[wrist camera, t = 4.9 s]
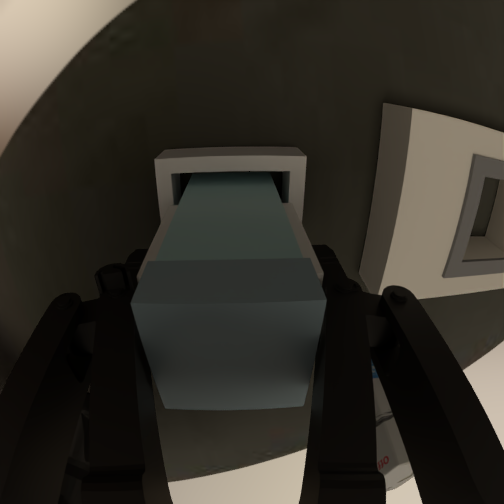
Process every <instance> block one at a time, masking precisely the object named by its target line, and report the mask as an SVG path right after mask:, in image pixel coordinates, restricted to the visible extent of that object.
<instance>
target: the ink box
mask: <svg viewBox="0 0 504 504" xmlns="http://www.w3.org/2000/svg"><path fill="white" fill-rule="evenodd" d="M371 364H372V375H373V387H374V400H375V416H376V440H377V468H378V471H379V472H381V473H382V474H383V475H384V478H385V482H386V491H389V490H393V489H395V488H397V487H399V486H401V485H402V484H404V483H405V482H406V481H408V480H409V479H411V478H412V477H414V474H413V471H412V468H411V465H410V462H409V459H408V456H407V453H406V450H405V447H404V444H403V441H402V438H401V436H400V433H399V430H398V427H397V424H396V422H395V419H394V416H393V414H392V411H391V408H390V405H389V403H388V400H387V398H386V395H385V392H384V390H383V387H382V385H381V382H380V380H379V377H378V375H377V372H376V370H375V367H374V365H373V362H372V360H371Z"/></svg>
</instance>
